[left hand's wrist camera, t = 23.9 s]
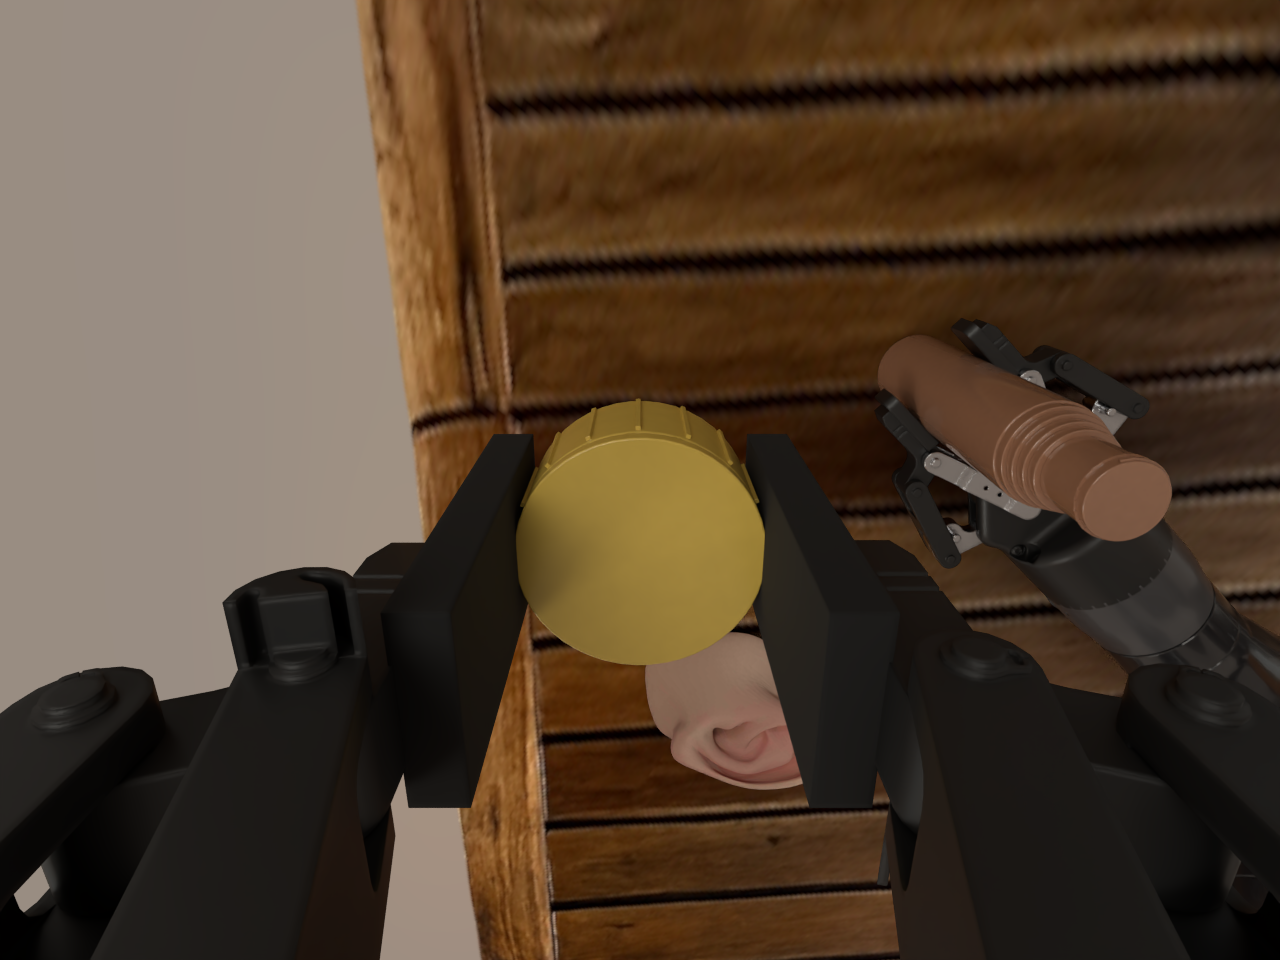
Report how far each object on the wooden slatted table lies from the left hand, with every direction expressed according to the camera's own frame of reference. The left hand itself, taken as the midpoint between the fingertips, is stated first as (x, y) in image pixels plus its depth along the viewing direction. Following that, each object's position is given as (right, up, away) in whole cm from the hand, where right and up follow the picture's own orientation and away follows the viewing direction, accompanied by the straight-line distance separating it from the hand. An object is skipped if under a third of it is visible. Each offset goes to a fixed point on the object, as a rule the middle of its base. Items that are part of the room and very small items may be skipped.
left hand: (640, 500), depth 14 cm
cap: (0, -1, -2) cm, 2 cm away
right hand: (+15, +7, +24) cm, 29 cm away
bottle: (+17, +7, +30) cm, 36 cm away
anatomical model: (+7, -16, +39) cm, 43 cm away
